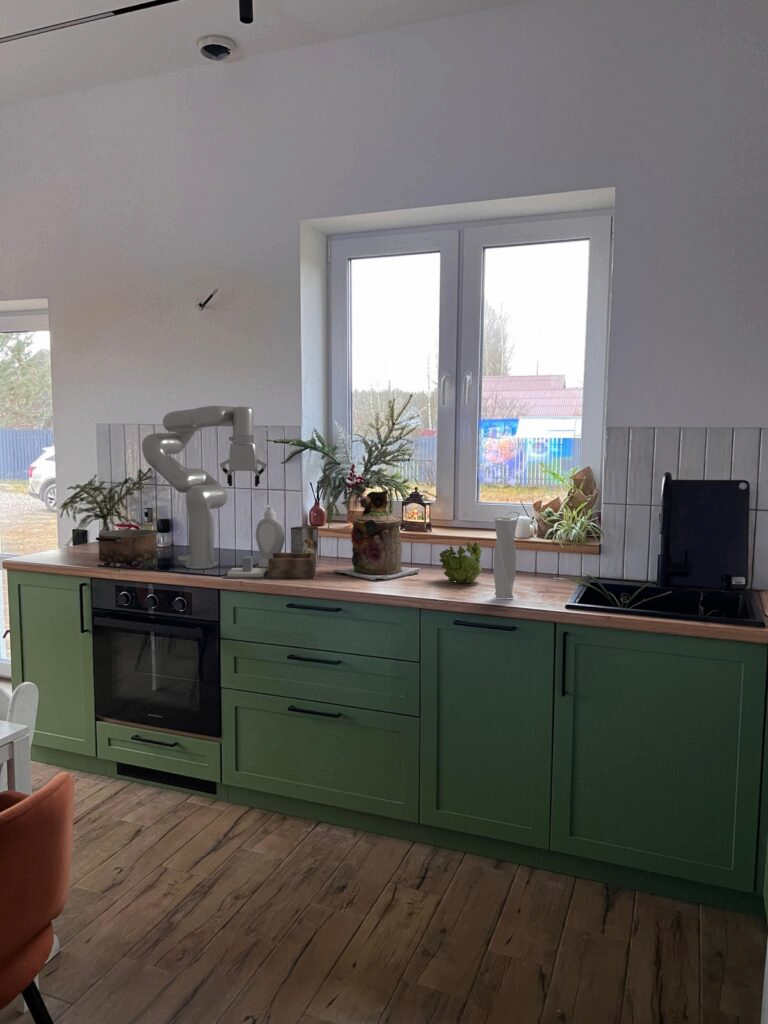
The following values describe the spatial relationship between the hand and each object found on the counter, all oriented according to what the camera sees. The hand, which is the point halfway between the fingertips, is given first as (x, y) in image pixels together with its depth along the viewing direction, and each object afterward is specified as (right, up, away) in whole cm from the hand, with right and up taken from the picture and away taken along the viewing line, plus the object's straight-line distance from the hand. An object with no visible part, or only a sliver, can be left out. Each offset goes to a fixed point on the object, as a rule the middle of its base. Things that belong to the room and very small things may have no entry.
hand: (243, 486), depth 284 cm
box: (+19, -33, -3) cm, 38 cm away
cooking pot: (-53, -29, +30) cm, 68 cm away
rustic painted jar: (+50, -33, +3) cm, 60 cm away
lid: (+2, -33, -4) cm, 33 cm away
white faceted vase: (+92, -38, -37) cm, 106 cm away
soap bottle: (+7, -31, +13) cm, 35 cm away
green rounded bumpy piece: (+80, -35, -11) cm, 88 cm away
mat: (+2, -33, -4) cm, 33 cm away
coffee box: (+21, -32, +14) cm, 40 cm away
